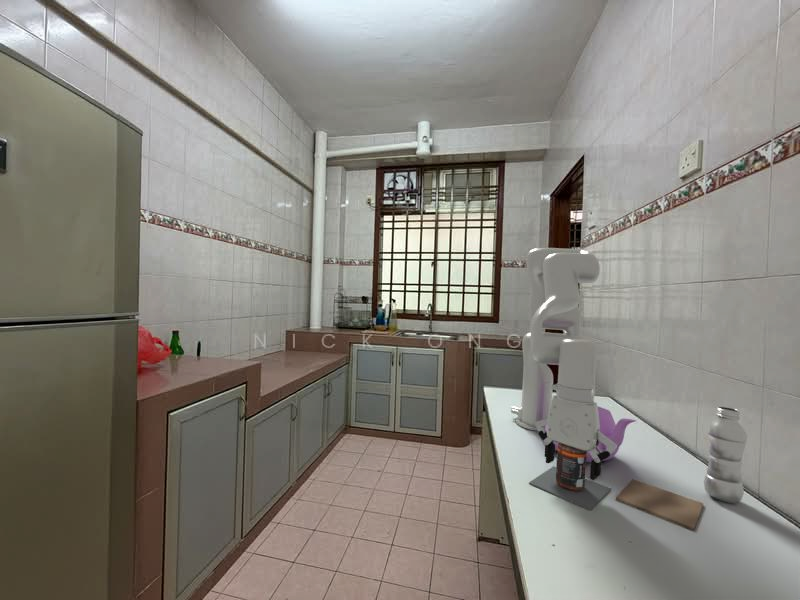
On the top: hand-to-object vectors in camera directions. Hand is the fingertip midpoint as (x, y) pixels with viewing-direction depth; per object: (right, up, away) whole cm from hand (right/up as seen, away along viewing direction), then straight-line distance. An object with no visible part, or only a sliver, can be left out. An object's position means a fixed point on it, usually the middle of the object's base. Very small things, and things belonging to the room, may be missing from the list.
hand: (571, 469), depth 80 cm
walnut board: (+17, -5, -4) cm, 18 cm away
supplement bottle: (0, -4, 0) cm, 4 cm away
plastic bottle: (+33, -6, -1) cm, 34 cm away
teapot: (+12, -5, +19) cm, 23 cm away
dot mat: (0, -4, 0) cm, 4 cm away
